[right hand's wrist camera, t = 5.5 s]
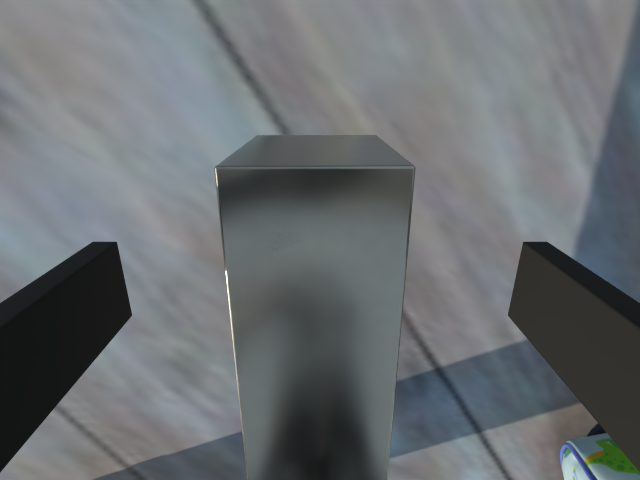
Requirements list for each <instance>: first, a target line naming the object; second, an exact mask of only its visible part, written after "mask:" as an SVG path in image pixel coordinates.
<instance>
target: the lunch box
mask: <svg viewBox="0 0 640 480" xmlns="http://www.w3.org/2000/svg"><path fill="white" fill-rule="evenodd" d="M560 463H561V467H562V471H563V476H564V480H640V472H639V471H638V470H637V468H636V467H635V466H634V465H633V464H632V462H631V461H630V460H629V459H628V458H627V457H626V455H625V454H624V453H623V452H622V451H621V449H620V448H619V447H618V446H617V445H616V443H615V442H614V441H613V440H612V439H611V437H610V436H609V435H608V434H607V433H604V434H599V435H593V436H588V437H581V438H576V439H572V440H568V441H567V442H566V443H565V444H564V445H563V446H562V447H561V450H560Z"/></svg>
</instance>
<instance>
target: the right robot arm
mask: <svg viewBox="0 0 640 480" xmlns="http://www.w3.org/2000/svg"><path fill="white" fill-rule="evenodd" d="M131 316H132V313H131V308H130V303H129V298H128V293H127V289H126V284H125V279H124V274H123V270H122V265H121V260H120V255H119V250H118V246H117V242H92V243H90V244H89V245H87V246H86V247H84V248H83V249H81V250H80V251H78V252H77V253H75V254H74V255H72V256H71V257H69V258H68V259H66V260H65V261H63V262H62V263H60V264H59V265H57V266H56V267H54V268H53V269H51V270H50V271H48V272H47V273H45V274H44V275H42V276H41V277H39V278H38V279H36V280H35V281H33V282H32V283H30V284H29V285H27V286H26V287H24V288H23V289H21V290H20V291H18V292H17V293H15V294H14V295H12V296H11V297H9V298H8V299H6V300H4V301H3V302H1V303H0V472H1V471H2V470H3V468H4V467H5V466H6V465H7V464H8V462H9V461H10V460H11V459H12V458H13V456H14V455H15V454H16V453H17V452H18V451H19V449H20V448H21V447H22V446H23V445H24V443H25V442H26V441H27V440H28V439H29V437H30V436H31V435H32V434H33V433H34V431H35V430H36V429H37V428H38V427H39V426H40V424H41V423H42V422H43V421H44V420H45V418H46V417H47V416H48V415H49V414H50V412H51V411H52V410H53V409H54V408H55V406H56V405H57V404H58V403H59V402H60V401H61V399H62V398H63V397H64V396H65V395H66V393H67V392H68V391H69V390H70V389H71V387H72V386H73V385H74V384H75V383H76V381H77V380H78V379H79V378H80V377H81V375H82V374H83V373H84V372H85V371H86V370H87V368H88V367H89V366H90V365H91V364H92V362H93V361H94V360H95V359H96V358H97V356H98V355H99V354H100V353H101V352H102V350H103V349H104V348H105V347H106V346H107V345H108V343H109V342H110V341H111V340H112V339H113V337H114V336H115V335H116V334H117V333H118V331H119V330H120V329H121V328H122V327H123V325H124V324H125V323H126V322H127V321H128V320H129V318H130V317H131ZM508 316H509V317H510V318H511V320H512V321H513V322H514V323H515V324H516V325H517V327H518V328H519V329H520V330H521V331H522V333H523V334H524V335H525V336H526V337H527V339H528V340H529V341H530V342H531V343H532V345H533V346H534V347H535V348H536V349H537V350H538V352H539V353H540V354H541V355H542V356H543V358H544V359H545V360H546V361H547V362H548V364H549V365H550V366H551V367H552V368H553V370H554V371H555V372H556V373H557V374H558V375H559V377H560V378H561V379H562V380H563V381H564V383H565V384H566V385H567V386H568V387H569V389H570V390H571V391H572V392H573V393H574V395H575V396H576V397H577V398H578V399H579V401H580V402H581V403H582V404H583V405H584V406H585V408H586V409H587V410H588V411H589V412H590V414H591V415H592V416H593V417H594V418H595V420H596V421H597V422H598V423H599V424H600V426H601V427H602V428H603V429H604V430H605V431H606V433H607V434H608V435H609V436H610V437H611V439H612V440H613V441H614V442H615V443H616V445H617V446H618V447H619V448H620V449H621V451H622V452H623V453H624V454H625V455H626V457H627V458H628V459H629V460H630V461H631V462H632V464H633V465H634V466H635V467H636V468H637V470H638V471H639V472H640V303H639V302H637V301H636V300H634V299H632V298H631V297H629V296H628V295H626V294H625V293H623V292H622V291H620V290H619V289H617V288H616V287H614V286H613V285H611V284H610V283H608V282H607V281H605V280H604V279H602V278H601V277H599V276H598V275H596V274H595V273H593V272H592V271H590V270H589V269H587V268H586V267H584V266H583V265H581V264H580V263H578V262H577V261H575V260H574V259H572V258H571V257H569V256H568V255H566V254H565V253H563V252H562V251H560V250H559V249H557V248H556V247H554V246H553V245H551V244H550V243H548V242H523V246H522V250H521V255H520V260H519V265H518V270H517V274H516V279H515V284H514V289H513V293H512V298H511V303H510V308H509V313H508Z"/></svg>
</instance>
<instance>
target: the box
mask: <svg viewBox="0 0 640 480" xmlns="http://www.w3.org/2000/svg"><path fill="white" fill-rule="evenodd" d="M214 170H215V180H216V189H217V198H218V208H219V217H220V227H221V236H222V246H223V255H224V265H225V274H226V283H227V293H228V302H229V312H230V321H231V331H232V340H233V350H234V359H235V368H236V378H237V387H238V397H239V406H240V416H241V425H242V435H243V444H244V453H245V463H246V472H247V480H387V479H388V468H389V457H390V446H391V434H392V423H393V412H394V401H395V390H396V379H397V367H398V356H399V345H400V334H401V323H402V312H403V300H404V289H405V278H406V267H407V256H408V245H409V233H410V222H411V211H412V200H413V189H414V177H415V166H414V165H413V164H411V163H410V162H409V161H408V160H406V159H405V158H404V157H403V156H401V155H400V154H399V153H398V152H397V151H395V150H394V149H393V148H392V147H390V146H389V145H388V144H387V143H385V142H384V141H383V140H382V139H380V138H379V137H378V136H376V135H262V136H256V137H254V138H253V139H252V140H250V141H249V142H248V143H246V144H245V145H244V146H242V147H241V148H239V149H238V150H237V151H235V152H234V153H233V154H231V155H230V156H229V157H227V158H226V159H225V160H223V161H222V162H221V163H219V164H218V165H217V166H215V169H214Z"/></svg>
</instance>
